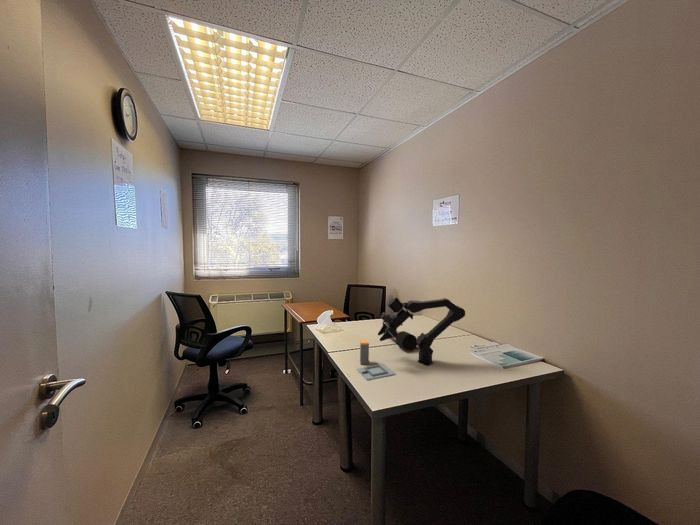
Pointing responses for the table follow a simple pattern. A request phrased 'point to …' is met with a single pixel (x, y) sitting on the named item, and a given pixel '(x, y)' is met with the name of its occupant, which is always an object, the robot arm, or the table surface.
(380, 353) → the table surface
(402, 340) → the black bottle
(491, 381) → the table surface
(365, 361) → the brick
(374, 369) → the charging dock
